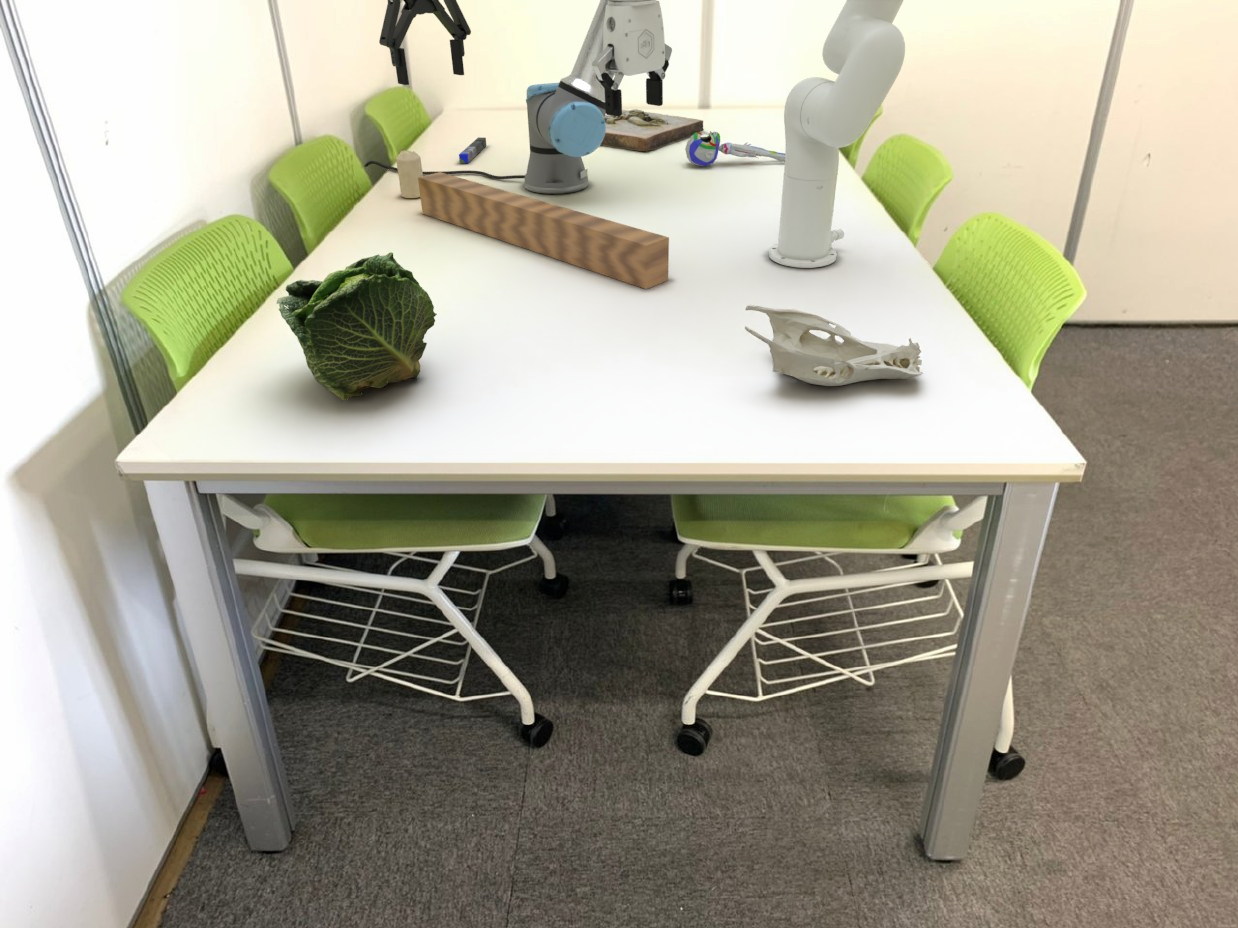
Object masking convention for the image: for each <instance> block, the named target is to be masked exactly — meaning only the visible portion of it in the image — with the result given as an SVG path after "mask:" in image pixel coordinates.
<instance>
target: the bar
mask: <svg viewBox="0 0 1238 928" xmlns="http://www.w3.org/2000/svg"><path fill="white" fill-rule="evenodd" d="M437 172H438V173H434V174H430V175H423V176H421V177H418V183H419V190H420V197H419V198H420V204H421V205H420V206H421V212H422V215H426V216H428V217H431V218H434V219H437V220H440V221H442V222H446V223H449V224H452V225H454V226H457V227H461V228H464V229H467V230H469V231H472V232H476V233H478V234H480V235H485V236H487V237H491V238H493V239H497V240H498V241H502V242H505V243H507V244H511V245H514V246H517V247H519V248H523V249H526V250H529V251H532V252H535V253H538V254H540V255H543V256H546V257H549V258H553V259H555V260H558V261H561V262H564V263H567V264H570V265H573V266H576V267H579V268H582V269H585V270H588V271H591V272H593V273H597V274H599V275H603V276H605V277H608V278H611V279H615V280H618V281H621V282H623V283H626V284H629V285H633V286H636V287H638V288H642V289H643V290H648V289H650V288H653V287H655V286H658V285H660V284H663V283H665V282H668V281H669V263H670V262H669V261H670V260H669V258H670V257H669V255H670V254H669V253H670V252H669V251H670V237H669V236H666V235H662V234H659V233H655V232H652V231H648V230H644V229H641V228H637V227H635V226H630V225H627V224H624V223H620V222H616V221H612V220H609V219H605V218H602V217H599V216H595V215H592V214H588V213H584V212H581V211H578V210H573V209H570V208H568V207H564V206H560V205H557V204H553V203H550V202H546V201H543V200H539V199H536V198H532V197H528V196H526V195H522V194H518V193H514V192H512V191H508V190H505V189H501V188H497V187H493V186H490V185H487V184H483V183H479V182H476V181H472V180H469V179H467V178H466V179H465V178H462V177H459V176H455V175H453V174H445V173H441V172H442V171H437Z"/></svg>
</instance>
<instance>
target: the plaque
mask: <svg viewBox="0 0 1238 928" xmlns="http://www.w3.org/2000/svg"><path fill="white" fill-rule="evenodd" d="M604 119H605V124H606V131H605V136H604V139H603V141H602V143H601V144H600V146H607V147H612V148H620V149H625V150H632V151H640V152H648V151H654V150H656V149H659V148H662V147H663V146H664V147H665V146H667V145H670V144H672V143H676V142H680V141H682V140H684V139H687V138H688V139H689V138H691V136H692V135H693V134H694V133H696V132H700V133H701V132H704V130H705V129H704V120H702V119H698V118H693V117H685V116H679V115H669V114H663V113H659V112H650V111H644V110H642V109H637V108H636V109H635V108H634V109H630V110H629V109H622V115H621V116H612V115H607V114H605V117H604Z"/></svg>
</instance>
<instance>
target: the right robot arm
mask: <svg viewBox="0 0 1238 928" xmlns="http://www.w3.org/2000/svg"><path fill="white" fill-rule="evenodd" d="M903 3H904V0H846V1H845V3H844V5H843V7H842V8H841V10H840V12H839V14H838V16H837V17H836V20H835V21H834V22H833V23H834V24H833V25H832V26H831V28H830V31H829V32H828V34H827V36H826V38H825V41H824V42H823V47H822V54H821V55H822V60H823V63H824V65H825V66H826V67H827V68H828V69H829V71H831V72H833V73H835V74H837V75H838V76H837V78H836V79H835V81H834V80H831V79H828V78H824V77H818V76H811V77H808V78H805V79H802V80H800V81H799V82H798V83H796V84H795V85H793V87H792V88H791V90H789V93H788V95H787V97H786V99H785V104H784V109H783V110H784V111H783V123H784V136H785V137H784V138H785V161H784V167H783V176H782V177H783V180H782V189H781V190H782V191H781V193H782V194H781V201H780V202H781V203H780V216H779V226H778V227H779V228H778V239H777V243H776V244H774V245H771V247H770V248H769V250H768V257H769V258H770V259H771V261H773V262H774V263H777V264H780V265H781V266H785V267H791V268H799V269H813V268H821V267H826V266H829V265H832V264H833V263H834V262H836V260H837V257H838V256H837V255H838V254H837V251H836V249H835V248H833V247H832V245H833V243H835V242H836V241H838V240H841V239H843V238H844V237H845V231H844V230H843V229H842V228H837V229H834V230H832V227H833V226H832V225H833V216H834V209H835V208H834V207H835V200H836V190H837V181H838V174H839V164H840V162H839V161H840V153H839V152H840V150H839V148H841V149H842V148H845V147H848V146H851V145H852V144H854V143H855V142H857V141H858V140H859V139H860V138H861V137H862V136H863V135H864V133H865V132H866V131H867V129H868V128H869V127H870V125H871V123H872V121H873V120H874V118H875V116H876V115H877V113H878V111H879V110H880V108H881V106H882V104H883V103H884V101H885V99H886V97H887V96H888V94H889V92H890V90H891V88H892V87H893V85H894V83H895V81H896V79H897V78H898V76H899V74H900V72H901V70H902V67H903V64H904V61H905V60H904V59H905V55H906V42H905V37H904V35H903V33H902V31H901V30H900V29H899V28H898V27H897V26H896V25H895V24H893V22H894V21H895V18H896V17H897V15H898V13H899V11H900V9H901V6H902V5H903ZM662 13H663V11H662V8H661V3H660V0H608V5H606V10H605V19H604V35H603V52H602V53H601V54H600V55H599V56H598V57H597V58H596V59H595V60H594V61H593V62H592V67H593V69H594V71H595V74H596V78H597V80H598V81H599V82H600V84H601V87H602V88H603V89H605V112H606V114H605V115H612V116H621V115H622V110H623V100H622V99H623V97H622V96H623V95H622V94H623V93H622V89H619V87H620V86H621V83H622V81H623V79H624V76H628V77H629V76H636V75H641V74H646V75H647V76H648V77H647V78H645V79H646V80H645V102H646V104H647V105H649V106H656V107H661V106H663V105H664V99H663V98H664V97H663V96H664V92H663V91H664V90H663V89H664V87H663V83H664V82H663V80H665V78H666V72H667V70H668V68H669V66H670V62H669V61H670V60H671V56H672V53H673V48H672V47H671V46H669V44H666V43H665V42H666V41H665V27H664V19H663V14H662ZM606 71H607V72H606ZM613 75H614V77H613ZM612 77H613V79H612Z"/></svg>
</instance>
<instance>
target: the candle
mask: <svg viewBox="0 0 1238 928" xmlns="http://www.w3.org/2000/svg"><path fill="white" fill-rule="evenodd" d="M395 159H396V160H395V161H396V168H397V169H398V171H397V174H398V175H397V176H398V182H399V188H400V195H401V197H402V198H405V199H417V198H420V190H419V183H418V177H421V176H424V175H423V172H424V171H423V166H422V158H421V155H419V154H418V153H417V152H415V151H414V150H413V151H411V150H405V149H404V150H401V151H400V152H399V153H398V155H397V156H396V157H395Z"/></svg>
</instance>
